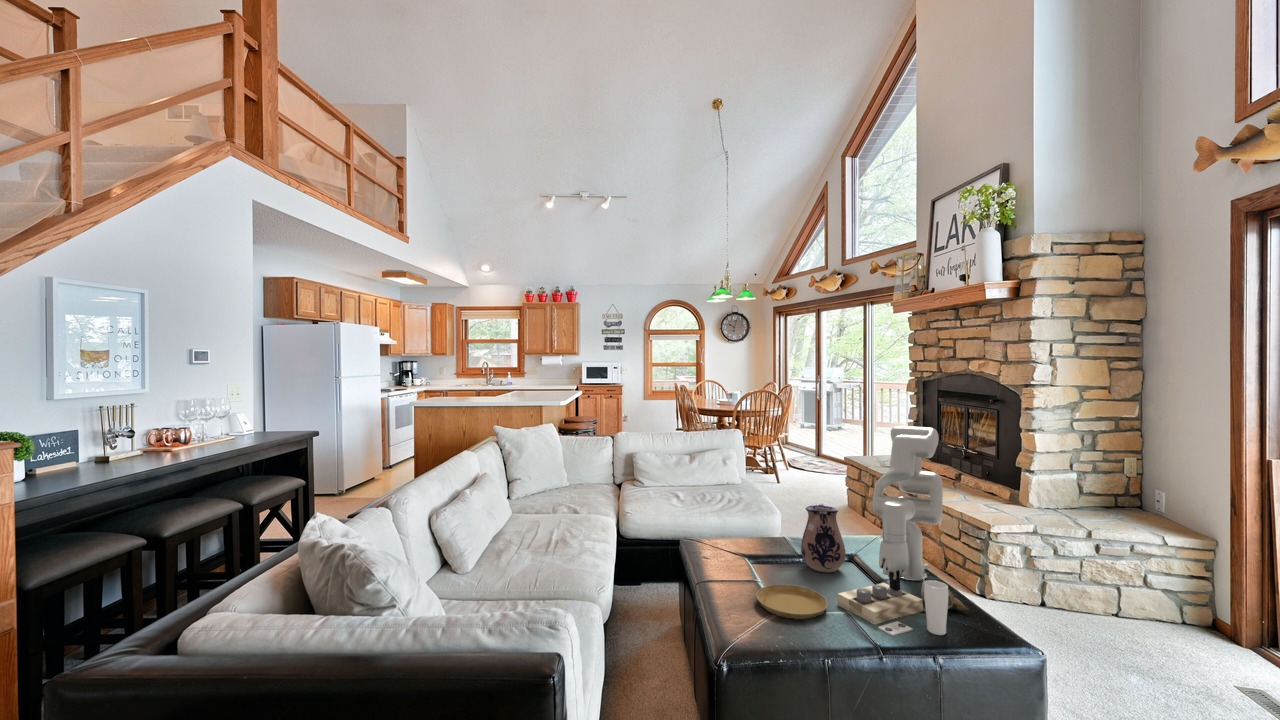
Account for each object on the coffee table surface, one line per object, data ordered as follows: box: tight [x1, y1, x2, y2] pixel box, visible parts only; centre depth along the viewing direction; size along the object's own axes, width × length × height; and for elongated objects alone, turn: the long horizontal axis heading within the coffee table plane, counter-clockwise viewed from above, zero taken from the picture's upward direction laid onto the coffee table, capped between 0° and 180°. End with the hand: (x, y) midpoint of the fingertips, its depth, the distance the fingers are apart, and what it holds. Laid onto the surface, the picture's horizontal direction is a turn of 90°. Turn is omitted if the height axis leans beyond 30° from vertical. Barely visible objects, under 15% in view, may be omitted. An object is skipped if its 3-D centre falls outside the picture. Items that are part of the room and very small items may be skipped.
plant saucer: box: [755, 583, 829, 620], centre depth 188 cm, size 24×24×3 cm
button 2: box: [888, 588, 903, 597], centre depth 190 cm, size 5×5×5 cm
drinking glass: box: [924, 579, 949, 636], centre depth 170 cm, size 7×7×15 cm
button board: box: [837, 582, 924, 625], centre depth 187 cm, size 23×16×4 cm
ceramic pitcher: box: [800, 503, 847, 573], centre depth 226 cm, size 18×21×25 cm
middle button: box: [871, 584, 887, 601], centre depth 187 cm, size 5×5×5 cm
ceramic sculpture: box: [920, 579, 970, 611], centre depth 187 cm, size 11×9×15 cm
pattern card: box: [877, 620, 914, 637], centre depth 172 cm, size 9×6×1 cm, turn 115°
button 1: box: [856, 588, 871, 605], centre depth 184 cm, size 5×5×5 cm
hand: (894, 589), depth 190 cm, fingers closed
